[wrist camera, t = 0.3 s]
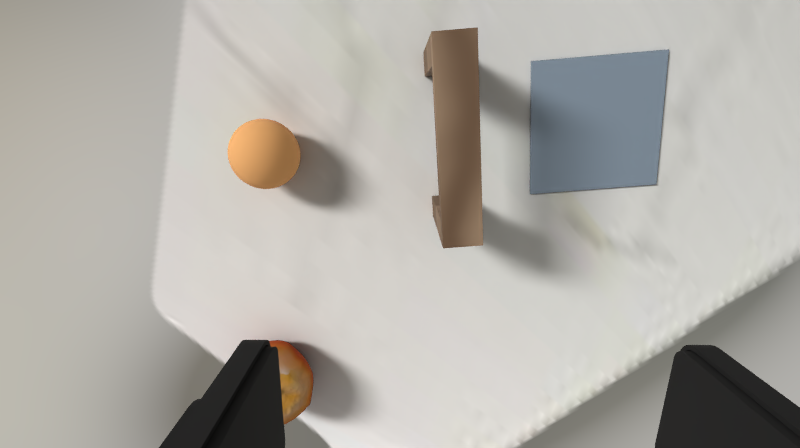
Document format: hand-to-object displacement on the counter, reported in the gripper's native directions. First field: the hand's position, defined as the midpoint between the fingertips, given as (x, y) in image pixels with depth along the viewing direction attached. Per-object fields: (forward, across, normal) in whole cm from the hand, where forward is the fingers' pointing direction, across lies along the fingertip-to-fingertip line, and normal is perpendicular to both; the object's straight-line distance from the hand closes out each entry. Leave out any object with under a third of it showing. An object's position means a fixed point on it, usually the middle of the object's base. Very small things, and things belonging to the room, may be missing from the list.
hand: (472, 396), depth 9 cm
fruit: (+31, +14, +20) cm, 40 cm away
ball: (+27, +14, -3) cm, 31 cm away
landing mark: (+30, -16, -6) cm, 35 cm away
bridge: (+30, -2, -4) cm, 31 cm away
